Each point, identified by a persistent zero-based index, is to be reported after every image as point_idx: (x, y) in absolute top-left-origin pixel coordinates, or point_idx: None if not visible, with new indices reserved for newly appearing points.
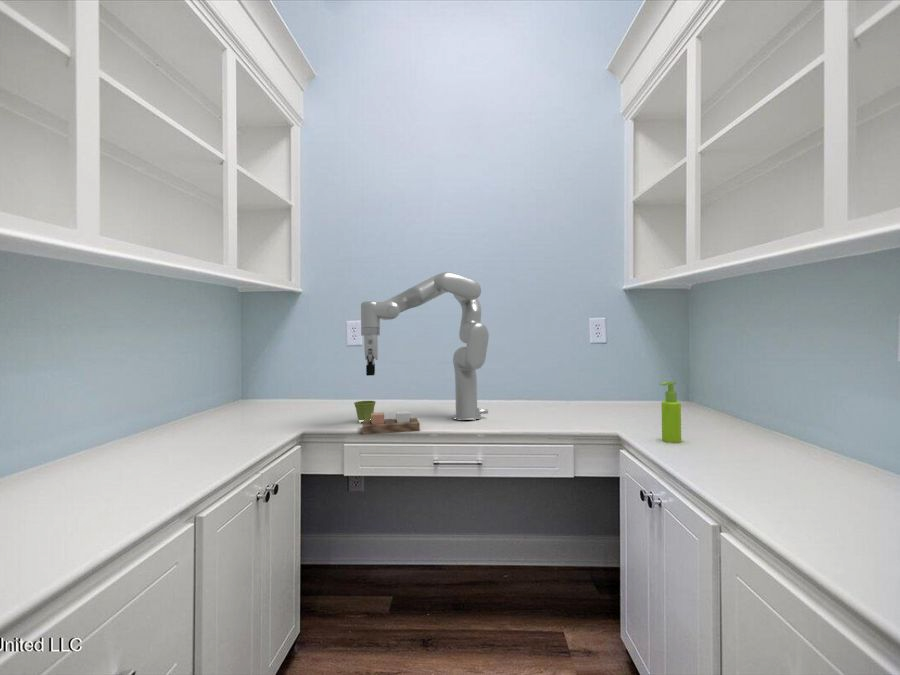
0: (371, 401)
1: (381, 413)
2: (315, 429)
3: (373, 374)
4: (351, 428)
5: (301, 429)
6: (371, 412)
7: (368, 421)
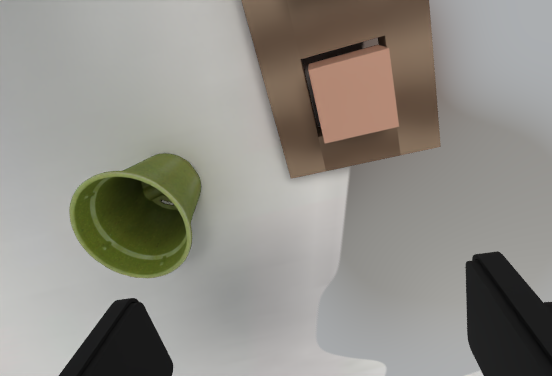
0: (77, 204)
1: (345, 76)
2: (311, 317)
3: (499, 268)
4: (300, 208)
5: (308, 352)
6: (165, 170)
7: (314, 146)
